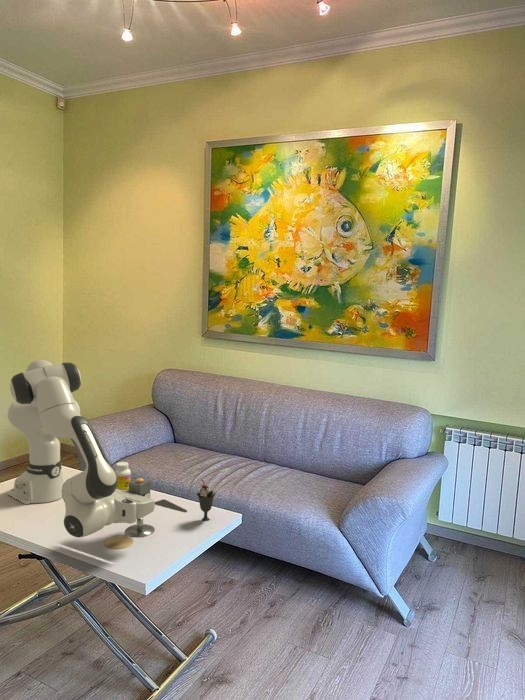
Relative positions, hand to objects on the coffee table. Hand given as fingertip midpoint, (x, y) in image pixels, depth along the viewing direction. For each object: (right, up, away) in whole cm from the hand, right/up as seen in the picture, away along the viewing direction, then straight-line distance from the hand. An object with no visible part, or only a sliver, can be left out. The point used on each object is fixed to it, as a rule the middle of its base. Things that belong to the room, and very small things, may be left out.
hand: (141, 493), depth 172 cm
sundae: (+20, -13, +11) cm, 27 cm away
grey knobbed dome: (-1, -13, +1) cm, 13 cm away
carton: (-1, -5, 0) cm, 5 cm away
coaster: (-5, -14, -8) cm, 17 cm away
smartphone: (+5, -12, +21) cm, 25 cm away
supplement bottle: (-16, -10, +33) cm, 38 cm away
